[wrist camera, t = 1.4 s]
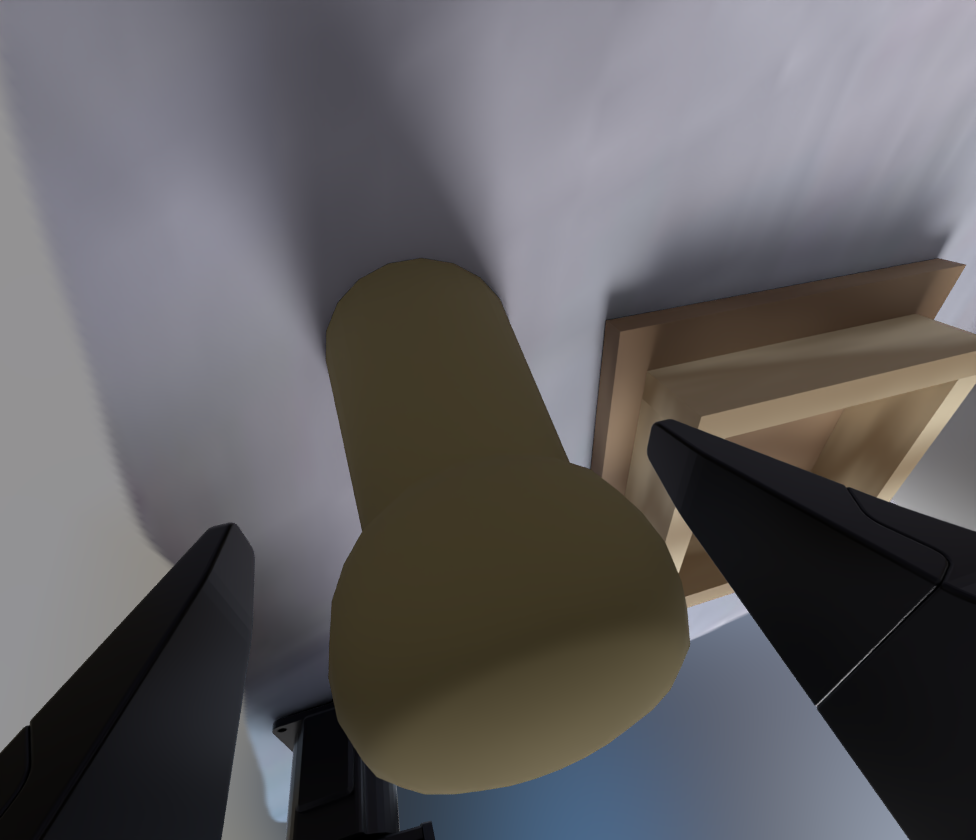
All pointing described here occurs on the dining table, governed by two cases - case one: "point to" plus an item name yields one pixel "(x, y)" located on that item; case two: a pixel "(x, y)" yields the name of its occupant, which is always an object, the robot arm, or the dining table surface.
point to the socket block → (785, 388)
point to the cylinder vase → (947, 472)
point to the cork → (480, 553)
